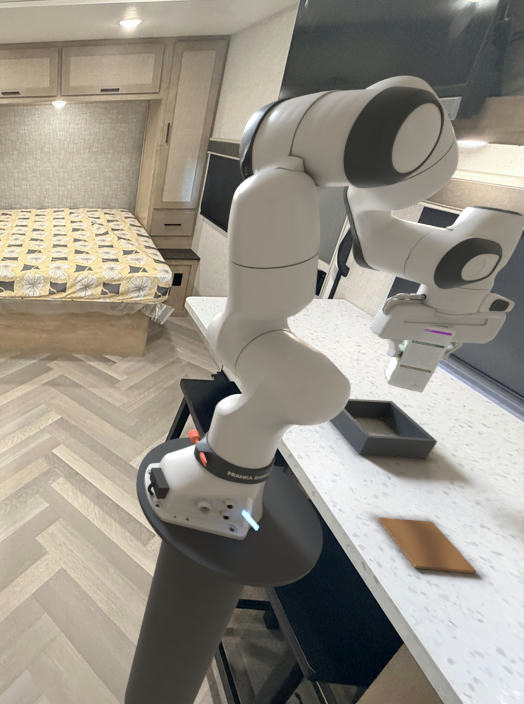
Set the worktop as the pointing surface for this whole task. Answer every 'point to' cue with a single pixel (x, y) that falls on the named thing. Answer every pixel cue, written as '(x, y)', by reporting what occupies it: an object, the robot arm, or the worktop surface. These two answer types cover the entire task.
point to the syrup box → (419, 358)
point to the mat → (425, 545)
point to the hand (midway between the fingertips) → (415, 357)
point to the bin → (407, 445)
